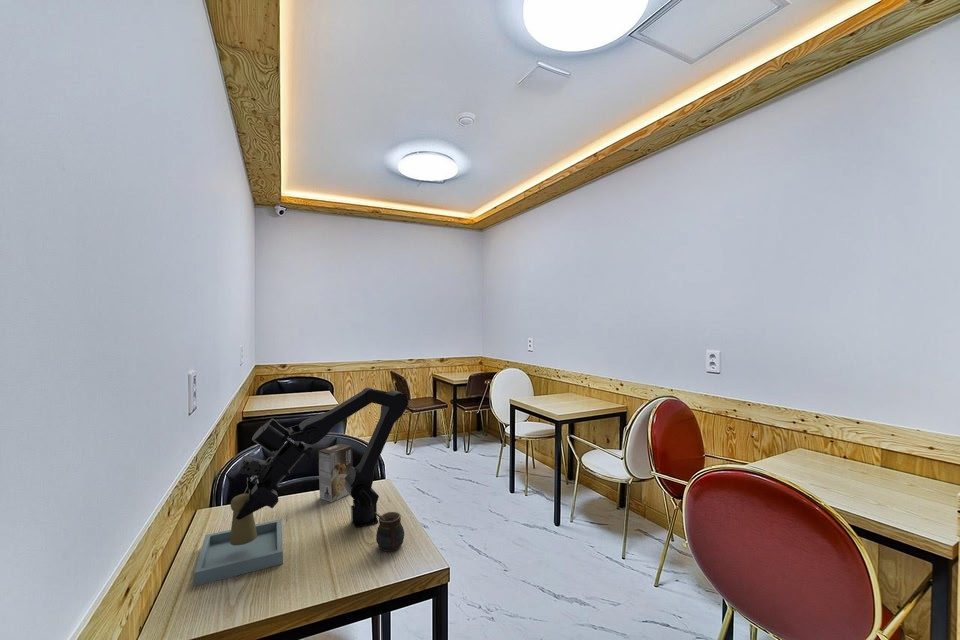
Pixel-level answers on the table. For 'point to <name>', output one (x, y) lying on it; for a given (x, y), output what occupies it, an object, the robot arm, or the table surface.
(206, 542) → the slate tray
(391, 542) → the mate gourd
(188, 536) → the table surface
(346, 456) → the coffee box
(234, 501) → the cork
